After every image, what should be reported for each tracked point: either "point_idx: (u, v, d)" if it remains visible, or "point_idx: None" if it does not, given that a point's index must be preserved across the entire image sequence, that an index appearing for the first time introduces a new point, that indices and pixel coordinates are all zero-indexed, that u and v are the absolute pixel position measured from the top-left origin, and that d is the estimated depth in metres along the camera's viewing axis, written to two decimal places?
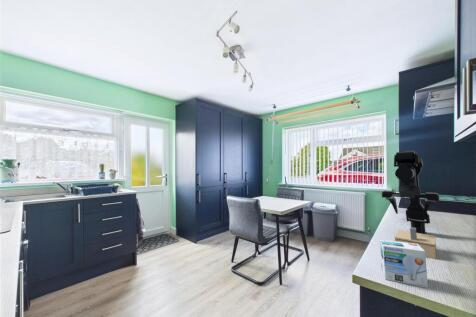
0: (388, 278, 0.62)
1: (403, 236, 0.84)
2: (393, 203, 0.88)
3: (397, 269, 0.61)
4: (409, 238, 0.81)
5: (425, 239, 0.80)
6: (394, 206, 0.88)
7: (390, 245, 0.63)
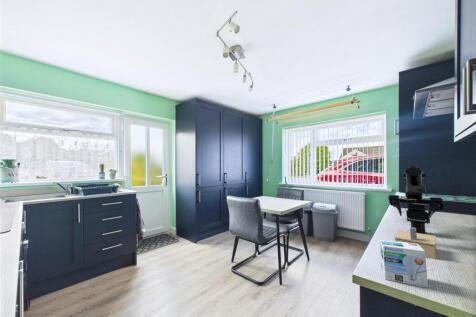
0: (388, 278, 0.62)
1: (403, 236, 0.84)
2: (398, 205, 0.92)
3: (397, 269, 0.61)
4: (409, 238, 0.81)
5: (425, 239, 0.80)
6: (399, 208, 0.91)
7: (390, 245, 0.63)
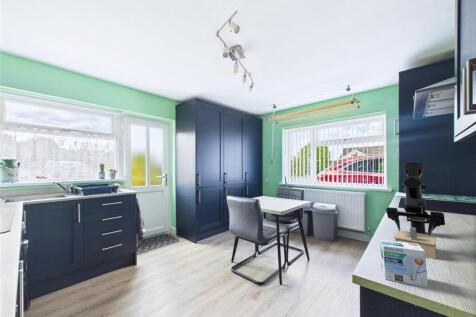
0: (388, 278, 0.62)
1: (403, 236, 0.84)
2: (396, 218, 0.86)
3: (397, 269, 0.61)
4: (409, 238, 0.81)
5: (425, 239, 0.80)
6: (397, 221, 0.86)
7: (390, 245, 0.63)
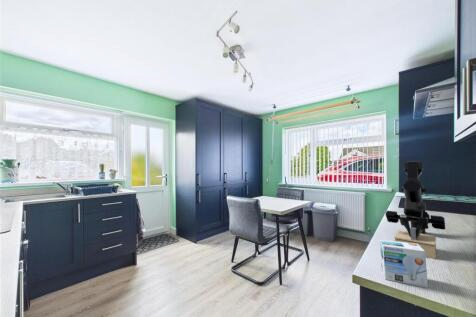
0: (388, 278, 0.62)
1: (403, 236, 0.84)
2: (407, 224, 0.83)
3: (397, 269, 0.61)
4: (409, 238, 0.81)
5: (425, 239, 0.80)
6: (408, 227, 0.82)
7: (390, 245, 0.63)
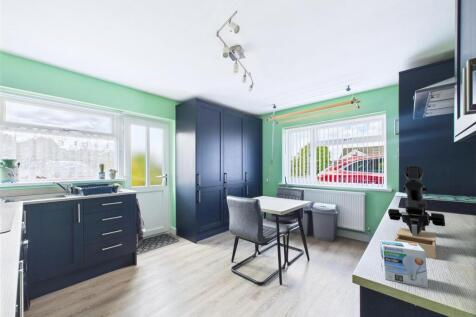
0: (388, 278, 0.62)
1: (405, 233, 0.88)
2: (409, 221, 0.87)
3: (397, 269, 0.61)
4: (411, 234, 0.85)
5: (426, 235, 0.84)
6: (409, 224, 0.86)
7: (390, 245, 0.63)
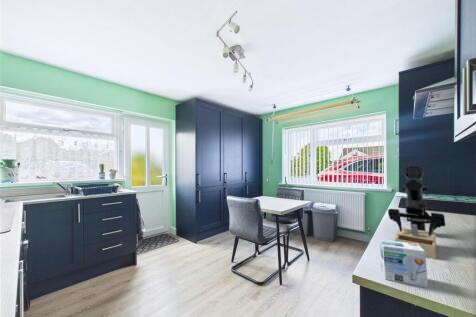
0: (388, 278, 0.62)
1: (405, 233, 0.88)
2: (398, 220, 0.89)
3: (397, 269, 0.61)
4: (411, 234, 0.85)
5: (426, 235, 0.84)
6: (399, 223, 0.89)
7: (390, 245, 0.63)
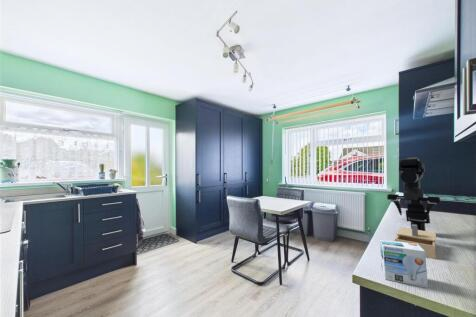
0: (388, 278, 0.62)
1: (405, 233, 0.88)
2: (398, 205, 0.96)
3: (397, 269, 0.61)
4: (411, 234, 0.85)
5: (426, 235, 0.84)
6: (398, 208, 0.96)
7: (390, 245, 0.63)
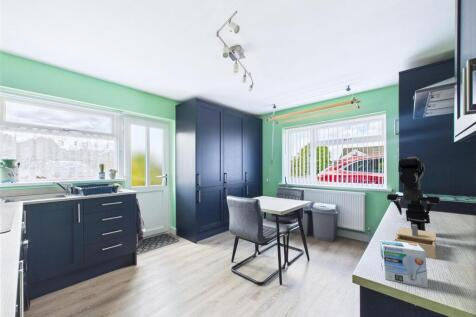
0: (388, 278, 0.62)
1: (405, 233, 0.88)
2: (397, 205, 0.97)
3: (397, 269, 0.61)
4: (411, 234, 0.85)
5: (426, 235, 0.84)
6: (398, 208, 0.97)
7: (390, 245, 0.63)
